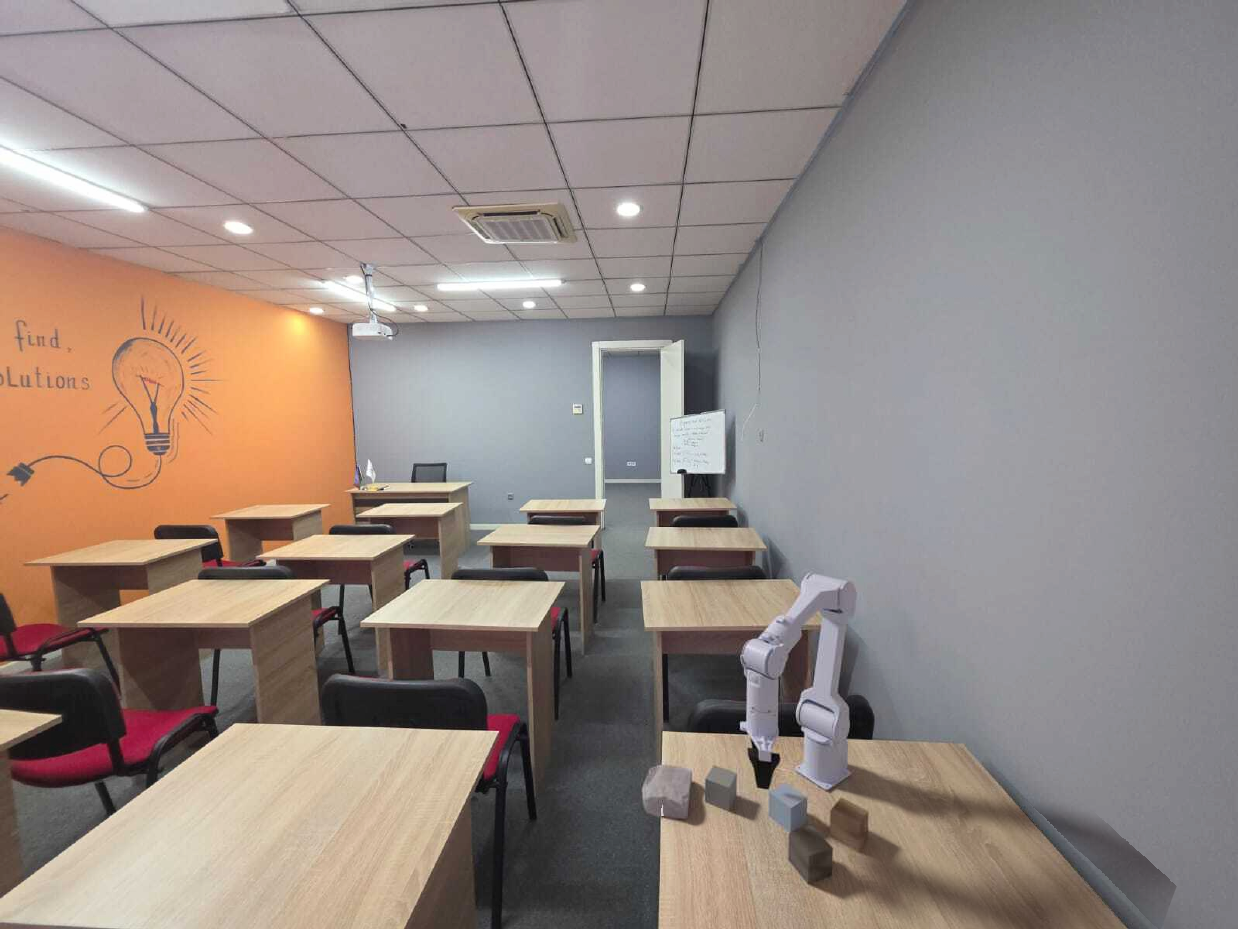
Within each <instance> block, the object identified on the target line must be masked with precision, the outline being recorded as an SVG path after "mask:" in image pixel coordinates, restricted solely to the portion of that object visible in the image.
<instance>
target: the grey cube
mask: <svg viewBox="0 0 1238 929" xmlns="http://www.w3.org/2000/svg"><path fill="white" fill-rule="evenodd" d="M737 779H738V773H737V772H734V771H732V770H729V769H727V768H723V767H721V766H718V765H715V764H713V765H712V767H711V769H710V770H709V771H708V773H707V775H706V777H705V778H704V803H707V804H708V805H711V806H713V807H716V808H719V809H721V810H724V811H726V812H730V811H731V808H732V806H733V804H734V802H735V800H736V798H737V793H738V792H737V789H738V788H737V784H738V782H737V781H738V780H737Z"/></svg>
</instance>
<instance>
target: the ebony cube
mask: <svg viewBox="0 0 1238 929" xmlns="http://www.w3.org/2000/svg"><path fill="white" fill-rule="evenodd" d="M833 851H834V848H833V846H832V845H831V844H830V843H829V842H828V841H827V840H826V839H825V837H823V836H822V835H821V833H819V831H818V830H817V829H816V828H815V827H814V826H813V825H811V826H806V827H803V828H800V829H796V830H794V831H793V832H790V833H789V832H788V851H787V852H788V855H787V856H788V861H789V863H790V864H791V865H792V866H793V868H794V869H795V870H796V871H797V872H798V874H799V875H800V876H801V878H802V879H803V880H804V881H805V882H806V884H807V885H810V884H813V883H815V882H818V881H821V880H824V879H826V878H829V877H832V876H833V859H834V858H833V857H834V856H833V853H834V852H833Z"/></svg>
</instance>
